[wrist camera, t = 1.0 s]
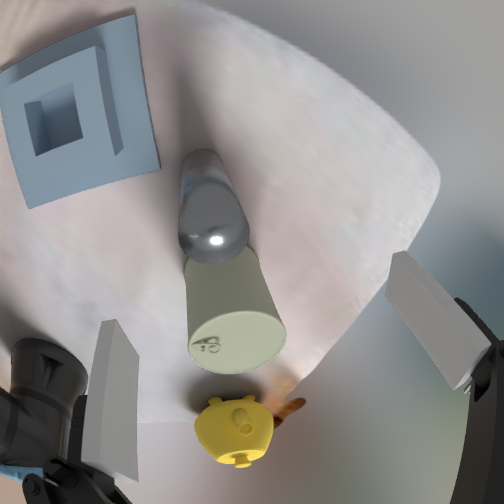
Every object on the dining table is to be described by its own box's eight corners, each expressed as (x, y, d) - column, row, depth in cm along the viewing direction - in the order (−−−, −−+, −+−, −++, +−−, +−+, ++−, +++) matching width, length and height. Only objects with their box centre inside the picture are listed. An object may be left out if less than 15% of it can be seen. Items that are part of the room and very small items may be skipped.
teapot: (191, 377, 45) (200, 450, 34) (279, 371, 49) (302, 437, 38) (192, 424, 55) (200, 478, 44) (260, 418, 59) (274, 469, 48)
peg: (186, 190, 29) (187, 270, 17) (178, 153, 26) (170, 210, 15) (224, 183, 29) (252, 257, 17) (219, 145, 27) (245, 195, 15)
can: (186, 236, 31) (189, 312, 21) (266, 241, 34) (301, 312, 24) (182, 300, 36) (186, 379, 26) (252, 302, 38) (275, 375, 28)
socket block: (32, 205, 25) (14, 224, 21) (1, 75, 16) (-23, 77, 12) (161, 167, 27) (156, 181, 23) (136, 16, 18) (127, 4, 14)
